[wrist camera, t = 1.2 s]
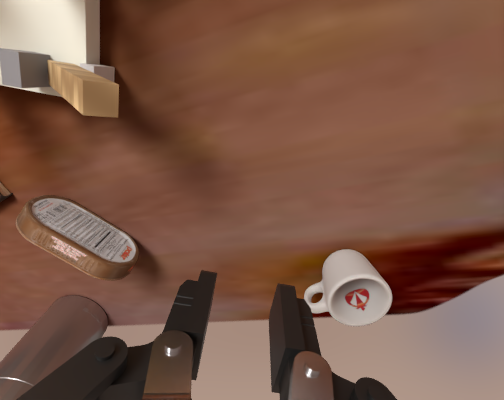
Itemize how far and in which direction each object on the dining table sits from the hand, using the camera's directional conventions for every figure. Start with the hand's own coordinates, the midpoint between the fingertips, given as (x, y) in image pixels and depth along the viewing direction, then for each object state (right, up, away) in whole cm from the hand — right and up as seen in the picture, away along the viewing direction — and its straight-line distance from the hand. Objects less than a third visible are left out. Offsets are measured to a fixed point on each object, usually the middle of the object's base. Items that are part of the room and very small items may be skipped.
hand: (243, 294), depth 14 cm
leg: (-20, +18, +18) cm, 32 cm away
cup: (+13, -6, +32) cm, 34 cm away
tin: (-21, +1, +30) cm, 37 cm away
